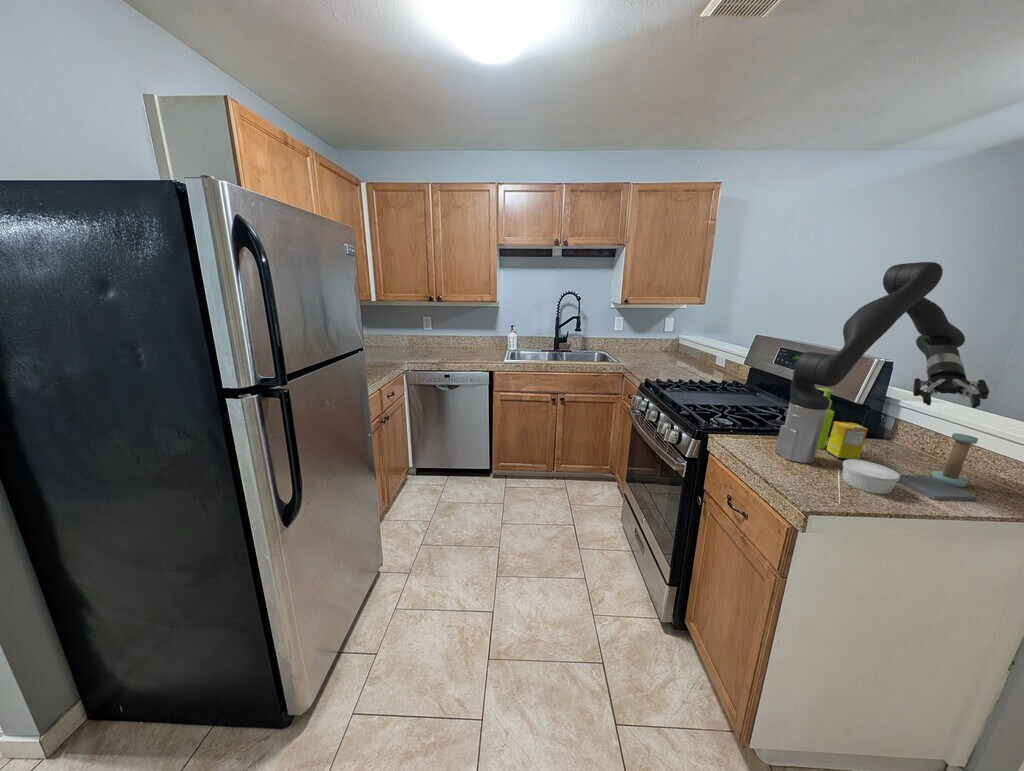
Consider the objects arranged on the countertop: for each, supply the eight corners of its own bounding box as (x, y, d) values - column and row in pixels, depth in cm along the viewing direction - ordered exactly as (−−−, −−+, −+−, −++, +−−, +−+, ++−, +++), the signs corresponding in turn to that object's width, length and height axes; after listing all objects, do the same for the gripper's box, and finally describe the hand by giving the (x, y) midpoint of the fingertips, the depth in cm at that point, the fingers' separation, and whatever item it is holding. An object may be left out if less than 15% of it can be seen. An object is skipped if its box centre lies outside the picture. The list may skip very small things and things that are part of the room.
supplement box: (845, 453, 118) (854, 422, 115) (858, 461, 112) (868, 429, 109) (824, 451, 119) (833, 420, 116) (837, 459, 113) (846, 427, 110)
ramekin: (855, 493, 94) (860, 475, 92) (829, 473, 104) (833, 456, 103) (906, 500, 92) (913, 481, 90) (874, 478, 102) (880, 461, 101)
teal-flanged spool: (950, 487, 98) (968, 440, 95) (924, 475, 105) (940, 431, 101) (973, 488, 98) (991, 441, 95) (945, 476, 105) (962, 432, 101)
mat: (933, 499, 92) (935, 496, 92) (889, 477, 103) (890, 474, 102) (975, 500, 92) (976, 496, 92) (926, 478, 103) (927, 475, 103)
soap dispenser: (814, 441, 127) (828, 387, 122) (828, 449, 121) (844, 392, 116) (796, 440, 128) (810, 386, 123) (810, 448, 121) (825, 391, 116)
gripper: (913, 360, 116) (916, 393, 107) (984, 360, 107) (995, 396, 98) (909, 378, 120) (913, 411, 111) (978, 380, 110) (988, 416, 101)
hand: (951, 404), depth 104 cm, fingers open, 8 cm apart
